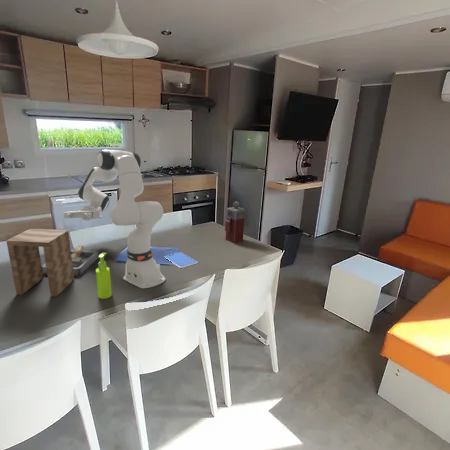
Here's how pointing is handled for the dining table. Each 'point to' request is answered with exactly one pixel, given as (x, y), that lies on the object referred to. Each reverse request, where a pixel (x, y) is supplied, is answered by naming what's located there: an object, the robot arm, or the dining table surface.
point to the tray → (87, 260)
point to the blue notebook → (181, 260)
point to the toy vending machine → (235, 223)
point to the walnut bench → (31, 263)
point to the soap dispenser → (103, 278)
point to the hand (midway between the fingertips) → (77, 215)
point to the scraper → (75, 255)
